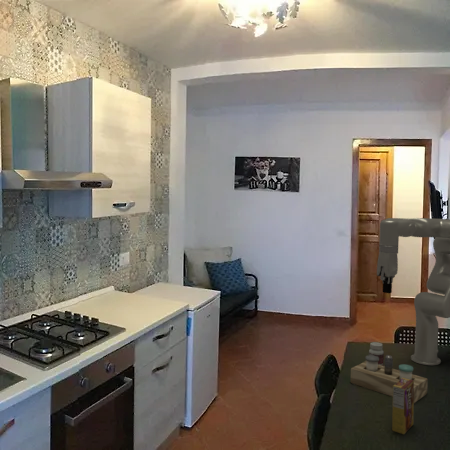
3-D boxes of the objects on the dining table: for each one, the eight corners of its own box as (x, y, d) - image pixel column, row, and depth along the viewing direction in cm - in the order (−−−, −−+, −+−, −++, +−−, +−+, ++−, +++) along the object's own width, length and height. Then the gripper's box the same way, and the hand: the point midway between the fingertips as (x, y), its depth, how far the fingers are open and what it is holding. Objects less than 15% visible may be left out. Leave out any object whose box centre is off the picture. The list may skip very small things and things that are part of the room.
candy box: (400, 420, 164) (402, 377, 162) (413, 424, 161) (415, 380, 160) (390, 430, 157) (392, 385, 156) (404, 435, 154) (405, 389, 153)
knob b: (401, 383, 188) (402, 363, 188) (414, 387, 185) (415, 366, 184) (395, 387, 185) (396, 366, 184) (408, 391, 181) (409, 370, 180)
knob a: (369, 373, 198) (369, 354, 198) (380, 376, 195) (381, 357, 194) (362, 376, 195) (363, 357, 194) (374, 380, 191) (375, 360, 190)
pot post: (386, 371, 191) (387, 354, 191) (393, 373, 189) (394, 356, 189) (382, 373, 189) (383, 356, 189) (390, 375, 187) (390, 358, 187)
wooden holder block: (365, 374, 203) (365, 360, 203) (426, 393, 185) (427, 378, 184) (350, 382, 195) (351, 368, 194) (413, 403, 176) (414, 387, 176)
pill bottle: (386, 370, 209) (387, 344, 208) (376, 372, 205) (377, 347, 204) (374, 365, 214) (375, 340, 213) (365, 368, 210) (366, 343, 210)
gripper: (388, 247, 208) (387, 288, 210) (371, 250, 198) (370, 293, 199) (405, 248, 203) (403, 291, 204) (388, 252, 192) (387, 297, 194)
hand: (387, 292), depth 202 cm, fingers closed
